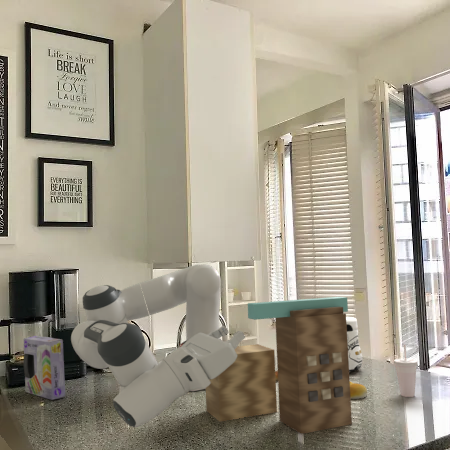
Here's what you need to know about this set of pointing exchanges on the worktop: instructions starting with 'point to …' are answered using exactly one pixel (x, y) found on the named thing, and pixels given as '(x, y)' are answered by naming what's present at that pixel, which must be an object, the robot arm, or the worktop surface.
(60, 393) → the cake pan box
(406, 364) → the smoothie
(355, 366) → the milk container
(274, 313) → the long teal plank
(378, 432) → the worktop surface
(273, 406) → the oak block
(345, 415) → the button stand
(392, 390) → the worktop surface
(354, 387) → the bread roll
